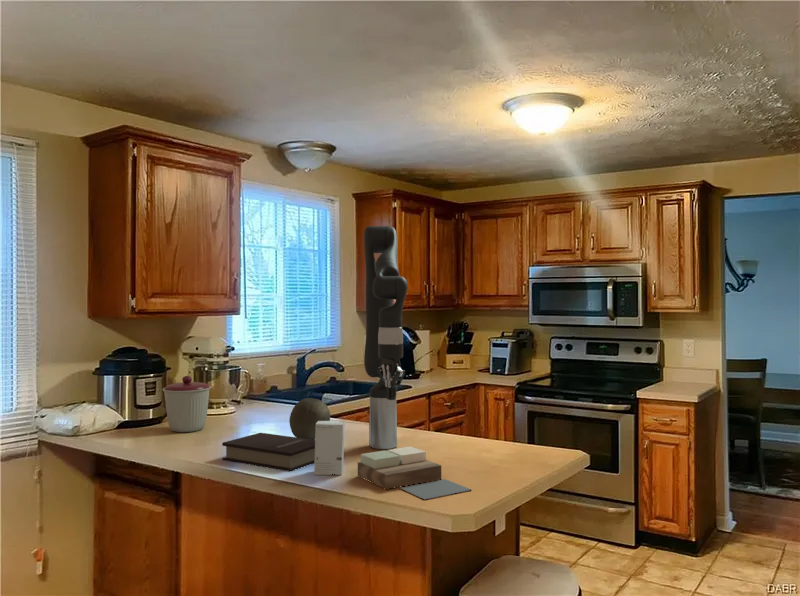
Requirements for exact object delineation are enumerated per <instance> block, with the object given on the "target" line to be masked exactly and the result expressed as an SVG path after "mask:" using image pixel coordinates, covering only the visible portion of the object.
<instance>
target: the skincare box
mask: <svg viewBox="0 0 800 596" xmlns="http://www.w3.org/2000/svg"><path fill="white" fill-rule="evenodd" d="M314 440H315V460H314V463H313V466H314V467H313V468H314V469H313V473H314V476H341V475H343V472H344V453H345V449H344V448H345V421H340V420H339V421H337V420H335V421H334V420H330V421H318V422H317V423H316V429H315V439H314ZM332 474H333V475H332ZM334 474H335V475H334Z"/></svg>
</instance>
